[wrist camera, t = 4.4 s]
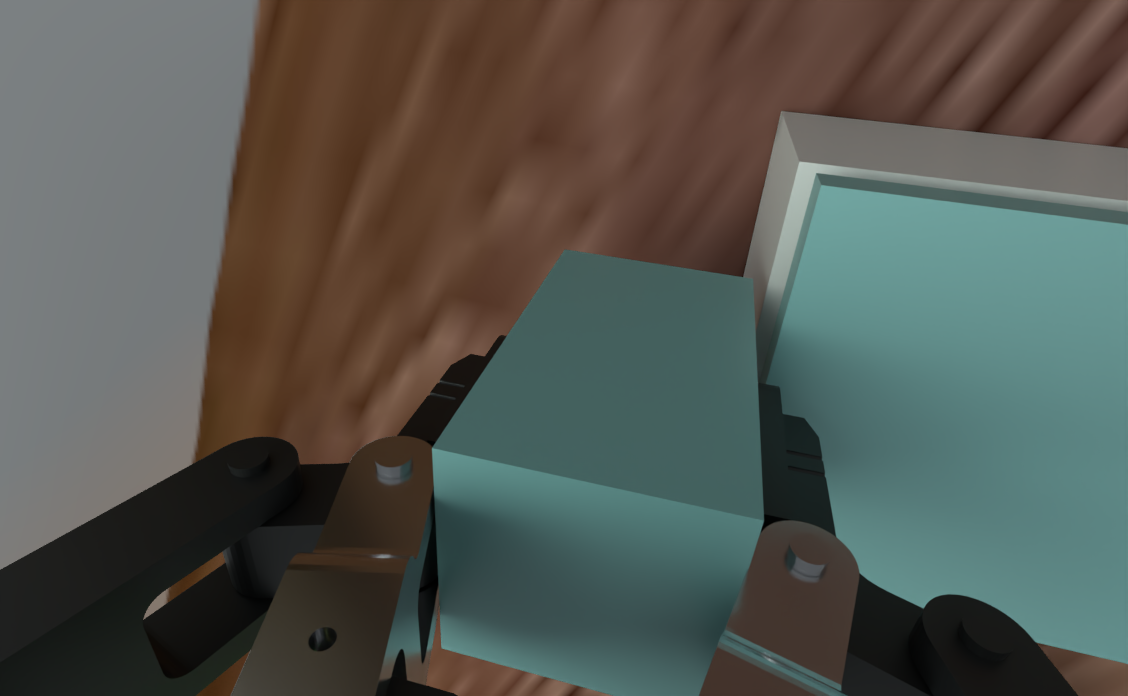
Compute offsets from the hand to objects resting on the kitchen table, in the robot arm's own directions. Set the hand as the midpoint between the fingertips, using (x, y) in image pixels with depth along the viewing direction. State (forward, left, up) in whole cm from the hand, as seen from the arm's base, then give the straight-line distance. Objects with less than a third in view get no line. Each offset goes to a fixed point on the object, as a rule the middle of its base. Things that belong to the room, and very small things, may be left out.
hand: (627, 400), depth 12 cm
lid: (-6, 0, -2) cm, 7 cm away
